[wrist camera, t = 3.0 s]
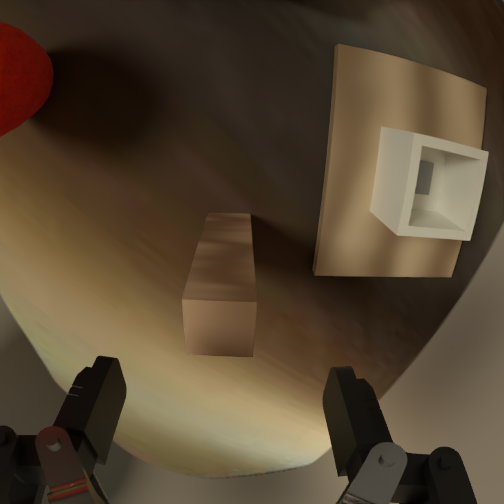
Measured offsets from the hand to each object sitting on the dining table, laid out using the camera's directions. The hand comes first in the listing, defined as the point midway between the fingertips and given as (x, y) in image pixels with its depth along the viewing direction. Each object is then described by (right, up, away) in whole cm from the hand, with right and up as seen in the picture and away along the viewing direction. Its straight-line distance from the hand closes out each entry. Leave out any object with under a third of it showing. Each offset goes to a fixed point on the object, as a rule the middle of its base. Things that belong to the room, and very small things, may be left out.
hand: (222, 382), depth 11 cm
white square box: (+14, +11, +11) cm, 21 cm away
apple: (-17, +19, +8) cm, 27 cm away
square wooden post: (-1, +6, +14) cm, 15 cm away
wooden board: (+14, +11, +12) cm, 21 cm away
